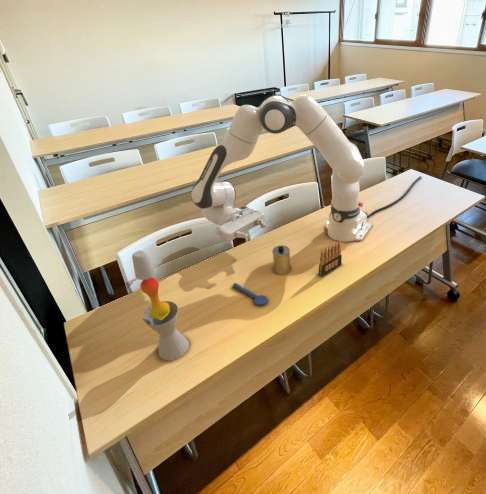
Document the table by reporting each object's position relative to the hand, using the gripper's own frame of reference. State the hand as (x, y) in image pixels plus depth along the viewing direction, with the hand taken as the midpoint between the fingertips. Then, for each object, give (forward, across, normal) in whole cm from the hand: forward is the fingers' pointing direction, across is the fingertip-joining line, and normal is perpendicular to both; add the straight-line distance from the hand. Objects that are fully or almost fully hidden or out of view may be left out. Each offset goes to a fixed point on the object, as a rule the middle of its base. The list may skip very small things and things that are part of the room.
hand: (256, 231), depth 129 cm
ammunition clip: (+27, +11, +13) cm, 32 cm away
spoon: (+13, -18, +13) cm, 26 cm away
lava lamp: (+11, -48, +13) cm, 51 cm away
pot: (+12, 0, +13) cm, 18 cm away
